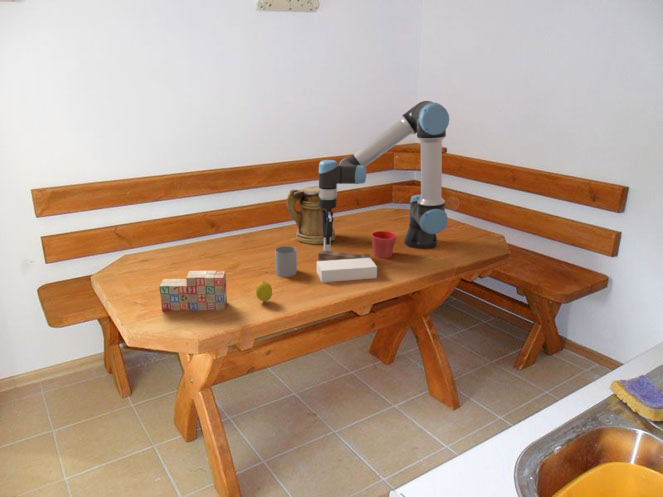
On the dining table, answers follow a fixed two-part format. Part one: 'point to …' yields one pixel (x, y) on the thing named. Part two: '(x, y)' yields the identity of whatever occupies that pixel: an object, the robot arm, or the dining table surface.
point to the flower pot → (383, 243)
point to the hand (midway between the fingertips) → (327, 250)
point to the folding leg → (338, 256)
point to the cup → (286, 261)
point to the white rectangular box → (346, 269)
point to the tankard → (307, 215)
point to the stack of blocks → (195, 291)
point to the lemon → (264, 291)
